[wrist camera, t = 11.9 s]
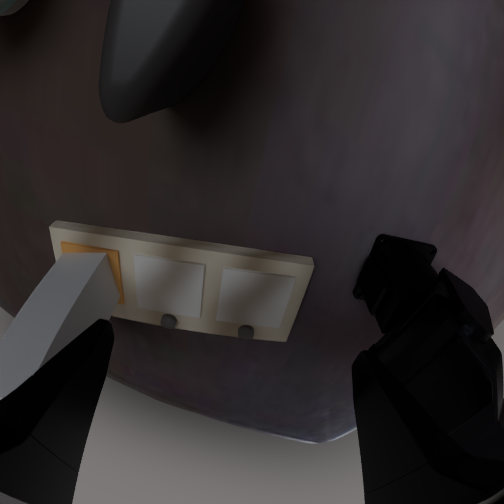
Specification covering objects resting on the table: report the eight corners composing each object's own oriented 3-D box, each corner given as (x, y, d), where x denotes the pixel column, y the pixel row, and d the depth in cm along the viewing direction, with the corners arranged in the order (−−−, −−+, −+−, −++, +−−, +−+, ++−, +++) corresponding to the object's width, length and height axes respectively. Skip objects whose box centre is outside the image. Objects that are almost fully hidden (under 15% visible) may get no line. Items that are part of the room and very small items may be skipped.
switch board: (311, 257, 23) (316, 270, 22) (284, 332, 28) (286, 346, 26) (56, 220, 21) (45, 230, 20) (72, 297, 26) (65, 309, 24)
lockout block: (106, 252, 21) (21, 406, 9) (120, 296, 24) (62, 442, 12) (63, 252, 21) (-24, 384, 9) (79, 293, 24) (14, 422, 12)
